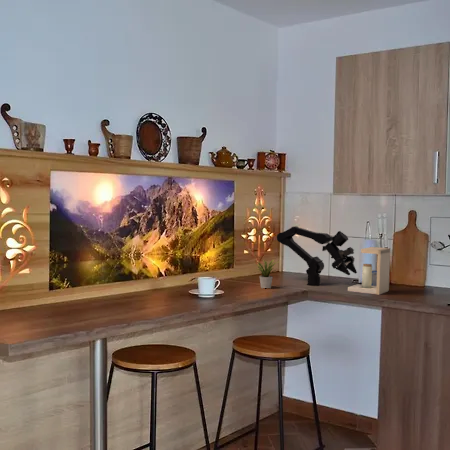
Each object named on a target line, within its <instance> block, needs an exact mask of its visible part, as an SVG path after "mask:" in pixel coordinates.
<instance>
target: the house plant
mask: <svg viewBox="0 0 450 450" xmlns="http://www.w3.org/2000/svg"><path fill="white" fill-rule="evenodd" d="M261 259H262V258H261ZM262 261H263V263H264V266H263V265H262V263H261V262H260V261H259V260H256V263H257V268H256V270H257V271H259V273H260V274H261V275H259V282H260V288H261V289H263V288H270V289H271V288H272V281H273V278H274V276H272V275H271V274H272V273H273V274H274V273H275V274H276V272H275V271H277V270H276V269H275V270H273V269H274V265H276V264H278V261H277V262H274V261H275V259H273V260H270V262H269V264H268V263H267V260H264V259H262ZM272 270H273V271H272Z"/></svg>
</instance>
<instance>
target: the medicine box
mask: <svg viewBox="0 0 450 450" xmlns="http://www.w3.org/2000/svg"><path fill="white" fill-rule="evenodd" d="M371 286H377V269H376V270H375V269H372V285H371Z"/></svg>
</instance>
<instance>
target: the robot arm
mask: <svg viewBox="0 0 450 450" xmlns="http://www.w3.org/2000/svg"><path fill="white" fill-rule="evenodd" d="M296 235H299V236H302V237H304V238H306V239H307V238H308V239H311V240H313V242H316V243H317V244H319V245H322V249H321V250H322V252H326V251H327V252H328V254H329V255H330V258H331V259H334V261H333V262H332V263H331V267H332V268H333V269H335V270H336V271H339V272H341V273H343V274H345V275H347V276H350V275H351V273H350V271H351V272H352V273H353V274H355V275H356V274H357V273H358V271H357V269H356V267H355V264H354V262H355V257H354V256H352V255H353V254H355V252H354V251H355V249H354V248H353V247H351V246H349V247H347V248H346V249H344V250H343V249H340V248H339V247H343V245H344V244H346V242H348V241H349V237H348V235H346V234H345V233H344V232H343V231H341V230H339V231H337V232H336V234H334V236H332V235H330V234H329V233H326V232H315V231H312V230H309V229H305V228H302V227H299V226H297V225H296V226H291V227H290V228H288V229H286V230H285V231H283V232H279V233H277V236H276V241H277V242H278V243H280V244H282V245H283V246H285V247H286V246H287V247H288V248H289V249H290V250H292V251H293V252H294V253H295V254H296V255H297V256H299V258H301V259H302V260H303V261H304V262H305V263H306V265H307V267H308V268H307V269H306V270H305V271H306V275H307V284H306V285H307V286H320V285H321V280H322V277H321V273H322V271H323V270H324V269H325V263H324V262H323V260H322V259H320V257H318V256H312V255H311V254H310V253H308V251H307V250H305V249H304V248H303V247H301V245H299V244H298V243H297V242H296V240H294V238H293V237H294V236H296Z"/></svg>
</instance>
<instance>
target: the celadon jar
mask: <svg viewBox="0 0 450 450" xmlns="http://www.w3.org/2000/svg"><path fill="white" fill-rule="evenodd" d="M372 270H373V265H372V263H363V264H362V271H361V272H362V273H361V274H362V275H361V276H362V278H361V285H362V288H370V289H371V285H372Z"/></svg>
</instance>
